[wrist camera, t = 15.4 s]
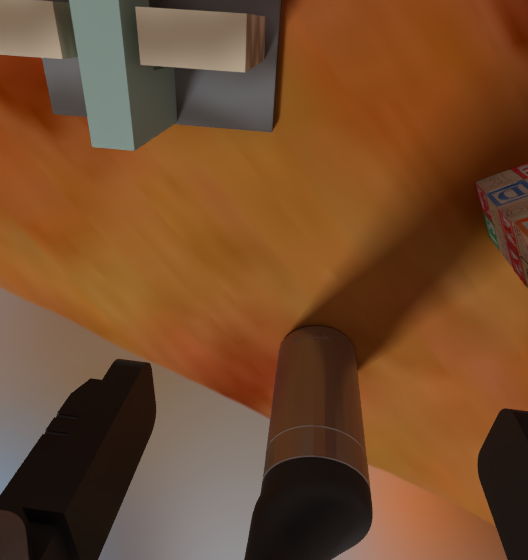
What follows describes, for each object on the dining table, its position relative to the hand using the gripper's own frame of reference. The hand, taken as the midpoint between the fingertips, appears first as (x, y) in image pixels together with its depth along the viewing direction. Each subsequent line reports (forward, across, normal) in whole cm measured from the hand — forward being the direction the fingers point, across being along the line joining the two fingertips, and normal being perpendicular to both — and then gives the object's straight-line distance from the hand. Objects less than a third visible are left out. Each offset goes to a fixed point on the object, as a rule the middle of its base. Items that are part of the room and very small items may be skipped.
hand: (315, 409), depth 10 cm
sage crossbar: (+31, +14, -7) cm, 35 cm away
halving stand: (+32, +14, -7) cm, 35 cm away
